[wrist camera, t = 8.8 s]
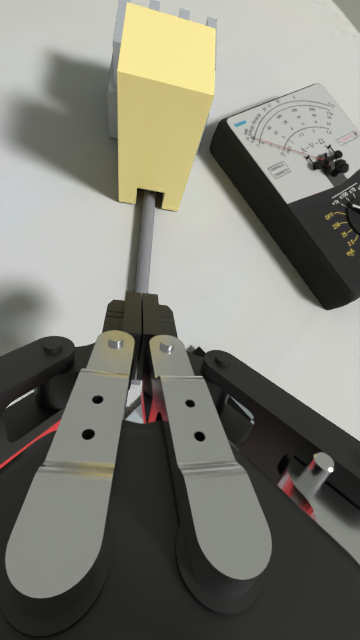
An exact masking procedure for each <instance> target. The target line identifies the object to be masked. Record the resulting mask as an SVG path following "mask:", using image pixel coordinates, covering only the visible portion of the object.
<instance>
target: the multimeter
mask: <svg viewBox="0 0 360 640" xmlns="http://www.w3.org/2000/svg"><path fill="white" fill-rule="evenodd" d="M210 152H211V154H212V155H213V157H214V158H215V159H216V161H217V162H218V163H219V165H220V166H221V168H222V169H223V170H224V172H225V173H226V174H227V176H228V177H229V179H230V180H231V181H232V183H233V184H234V185H235V187H236V188H237V189H238V191H239V192H240V194H241V195H242V196H243V198H244V199H245V200H246V202H247V203H248V205H249V206H250V207H251V209H252V210H253V211H254V213H255V214H256V216H257V217H258V218H259V220H260V221H261V222H262V224H263V225H264V226H265V228H266V229H267V231H268V232H269V233H270V235H271V236H272V237H273V239H274V240H275V242H276V243H277V244H278V246H279V247H280V248H281V250H282V251H283V252H284V254H285V255H286V257H287V258H288V259H289V261H290V262H291V263H292V265H293V266H294V268H295V269H296V270H297V272H298V273H299V274H300V276H301V277H302V278H303V280H304V281H305V283H306V284H307V285H308V287H309V288H310V289H311V291H312V292H313V294H314V295H315V296H316V298H317V299H318V300H319V302H320V303H321V305H322V306H323V307H324V308H325V309H326V310H331V309H335V308H338V307H342V306H344V305H347V304H349V303H351V302H353V301H355V300H356V299H358V298H359V297H360V131H359V130H358V129H357V128H356V126H355V125H354V124H353V123H352V121H351V120H350V119H349V118H348V116H347V115H346V114H345V113H344V111H343V110H342V109H341V108H340V106H339V105H338V104H337V103H336V101H335V100H334V99H333V98H332V96H331V95H330V94H329V93H328V91H327V90H326V89H325V87H324V86H323V85H321V84H320V83H319V84H313V85H310V86H308V87H305V88H303V89H300V90H297V91H295V92H292V93H290V94H287V95H284V96H282V97H279V98H277V99H274V100H272V101H269V102H266V103H264V104H261V105H259V106H256V107H253V108H251V109H248V110H246V111H243V112H240V113H238V114H235V115H233V116H230V117H228V118H225V119H222V120H221V121H220V122H219V124H218V126H217V128H216V130H215V133H214V135H213V138H212V141H211V145H210Z"/></svg>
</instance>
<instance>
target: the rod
mask: <svg viewBox="0 0 360 640" xmlns="http://www.w3.org/2000/svg"><path fill="white" fill-rule="evenodd" d="M155 199H156V191H152V190H147V189H144V199H143V209H142V220H141V230H140V241H139V251H138V262H137V272H136V283H135V292H139V293H141V297H142V293H148V284H149V272H150V260H151V248H152V235H153V223H154V211H155ZM136 372H137V368H136ZM140 381H141V380H136V375H135V380H131V384H136V385H140Z"/></svg>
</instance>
